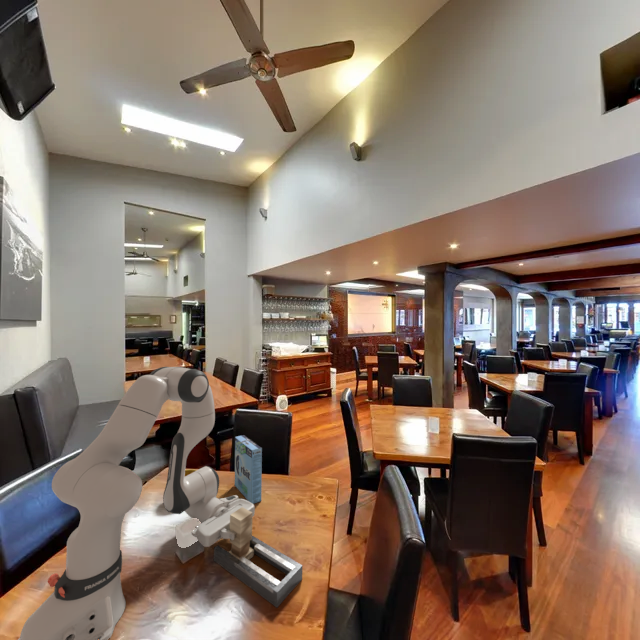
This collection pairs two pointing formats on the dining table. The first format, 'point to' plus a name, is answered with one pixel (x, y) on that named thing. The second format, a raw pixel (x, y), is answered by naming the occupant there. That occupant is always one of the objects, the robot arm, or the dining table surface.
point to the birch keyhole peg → (241, 533)
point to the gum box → (248, 468)
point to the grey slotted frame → (262, 571)
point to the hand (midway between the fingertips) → (242, 530)
